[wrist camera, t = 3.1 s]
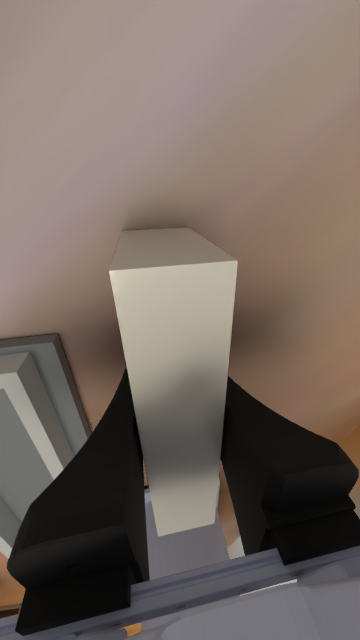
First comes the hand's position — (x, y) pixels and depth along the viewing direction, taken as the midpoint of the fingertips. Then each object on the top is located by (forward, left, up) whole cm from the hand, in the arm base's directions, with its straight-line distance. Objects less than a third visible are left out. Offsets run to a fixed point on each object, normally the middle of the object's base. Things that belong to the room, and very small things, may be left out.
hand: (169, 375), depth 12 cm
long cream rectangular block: (0, 0, -2) cm, 2 cm away
